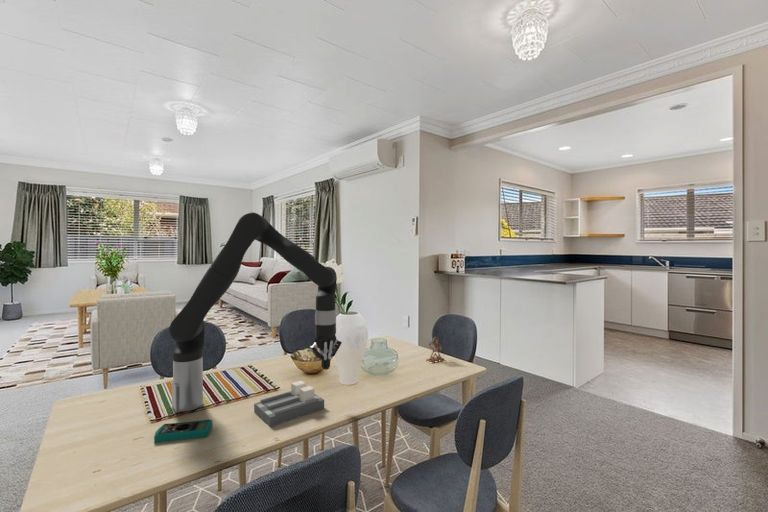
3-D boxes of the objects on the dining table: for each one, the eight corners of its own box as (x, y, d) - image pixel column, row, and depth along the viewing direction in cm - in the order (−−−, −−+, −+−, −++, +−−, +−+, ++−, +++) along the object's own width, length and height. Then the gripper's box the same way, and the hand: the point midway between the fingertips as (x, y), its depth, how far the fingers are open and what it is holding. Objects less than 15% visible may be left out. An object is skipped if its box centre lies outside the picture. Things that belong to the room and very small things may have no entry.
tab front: (304, 403, 123) (304, 391, 123) (299, 399, 125) (299, 388, 125) (314, 399, 126) (314, 388, 125) (309, 396, 128) (309, 385, 128)
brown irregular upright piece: (439, 358, 183) (439, 335, 183) (444, 360, 180) (445, 336, 179) (425, 361, 178) (426, 337, 178) (430, 363, 175) (431, 339, 175)
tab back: (295, 396, 128) (295, 385, 128) (291, 394, 130) (291, 383, 130) (305, 393, 130) (305, 383, 130) (301, 391, 133) (301, 380, 133)
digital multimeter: (161, 432, 111) (161, 422, 110) (213, 426, 114) (213, 417, 114) (151, 445, 103) (151, 435, 103) (207, 438, 107) (207, 429, 107)
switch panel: (270, 426, 113) (270, 414, 113) (254, 412, 123) (254, 400, 123) (324, 408, 126) (324, 397, 126) (306, 396, 136) (306, 385, 136)
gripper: (335, 317, 137) (335, 362, 137) (304, 322, 128) (304, 370, 129) (346, 321, 131) (346, 367, 132) (315, 326, 122) (315, 376, 123)
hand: (325, 368), depth 130 cm, fingers closed
